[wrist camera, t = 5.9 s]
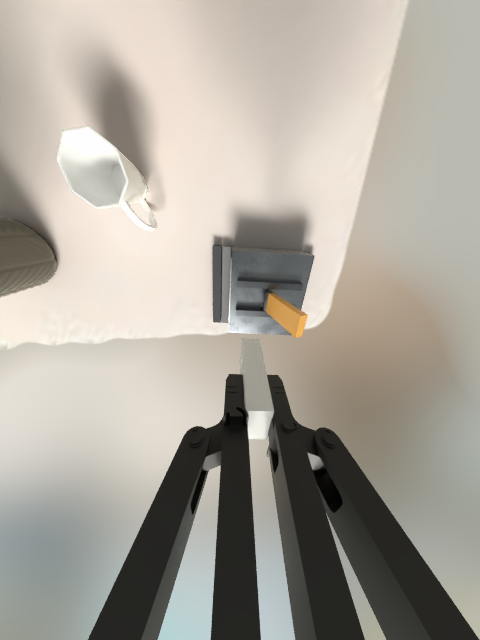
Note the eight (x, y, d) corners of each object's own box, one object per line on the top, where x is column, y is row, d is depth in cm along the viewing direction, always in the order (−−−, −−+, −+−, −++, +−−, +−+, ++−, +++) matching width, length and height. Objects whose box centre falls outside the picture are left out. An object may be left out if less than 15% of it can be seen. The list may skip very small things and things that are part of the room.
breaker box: (231, 246, 30) (230, 251, 24) (302, 251, 30) (317, 256, 25) (228, 319, 36) (227, 336, 31) (287, 322, 37) (296, 338, 31)
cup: (131, 140, 23) (86, 103, 16) (180, 216, 27) (161, 213, 20) (95, 174, 25) (39, 154, 18) (146, 241, 29) (118, 246, 22)
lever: (264, 291, 27) (299, 316, 20) (271, 290, 28) (308, 314, 21) (262, 309, 29) (294, 337, 22) (268, 308, 29) (302, 336, 22)
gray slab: (213, 245, 29) (212, 246, 28) (231, 246, 30) (231, 247, 28) (214, 318, 36) (213, 322, 35) (228, 319, 36) (228, 322, 35)
